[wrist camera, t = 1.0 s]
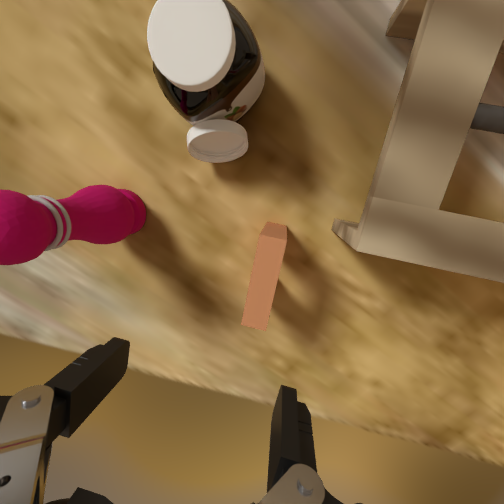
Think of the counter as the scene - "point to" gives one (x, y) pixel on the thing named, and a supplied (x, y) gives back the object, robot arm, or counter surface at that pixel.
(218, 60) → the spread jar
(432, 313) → the counter surface
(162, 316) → the counter surface
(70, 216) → the pepper mill
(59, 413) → the robot arm
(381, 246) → the beige hollow rectangular block
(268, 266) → the orange notched plate
